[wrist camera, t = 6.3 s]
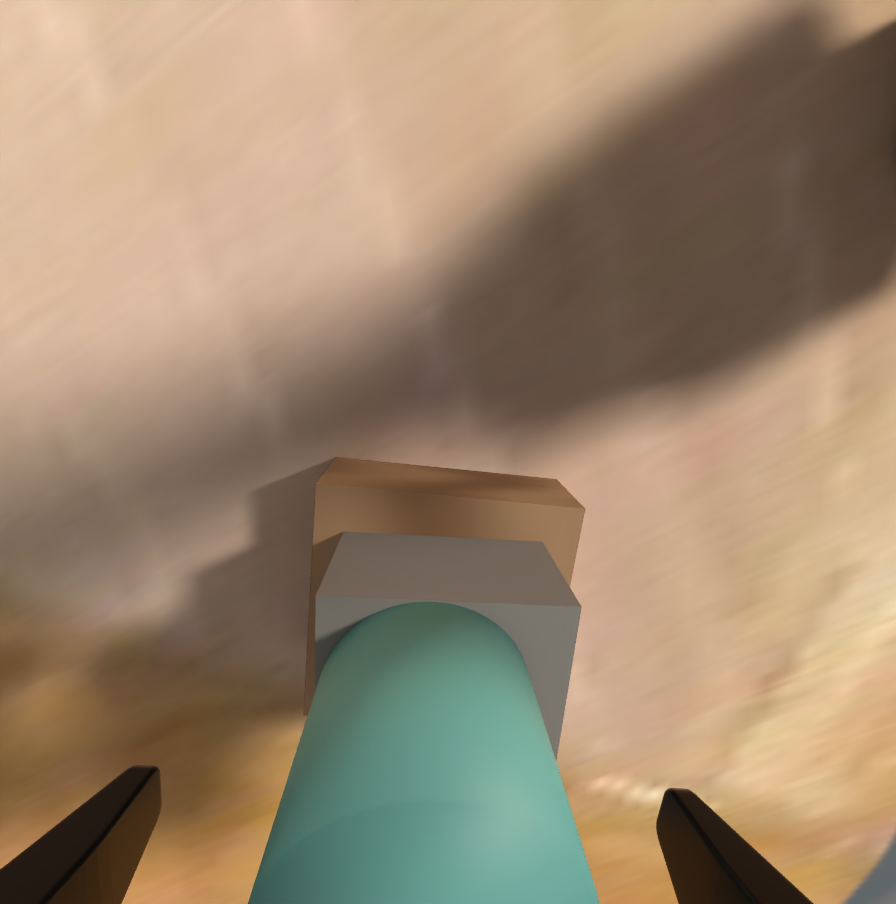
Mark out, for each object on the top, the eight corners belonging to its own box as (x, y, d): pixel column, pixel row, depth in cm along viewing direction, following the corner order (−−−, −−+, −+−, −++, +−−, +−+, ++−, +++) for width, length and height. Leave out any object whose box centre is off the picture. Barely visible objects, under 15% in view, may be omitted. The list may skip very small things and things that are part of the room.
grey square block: (542, 541, 14) (581, 607, 10) (520, 706, 15) (547, 812, 12) (343, 531, 13) (315, 595, 10) (339, 702, 15) (313, 809, 11)
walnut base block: (552, 475, 17) (585, 508, 14) (520, 658, 19) (541, 728, 15) (338, 453, 16) (315, 483, 13) (326, 645, 18) (303, 715, 15)
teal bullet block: (542, 606, 10) (629, 804, 6) (516, 781, 11) (572, 1054, 7) (320, 596, 10) (236, 797, 6) (317, 777, 11) (245, 1060, 7)
